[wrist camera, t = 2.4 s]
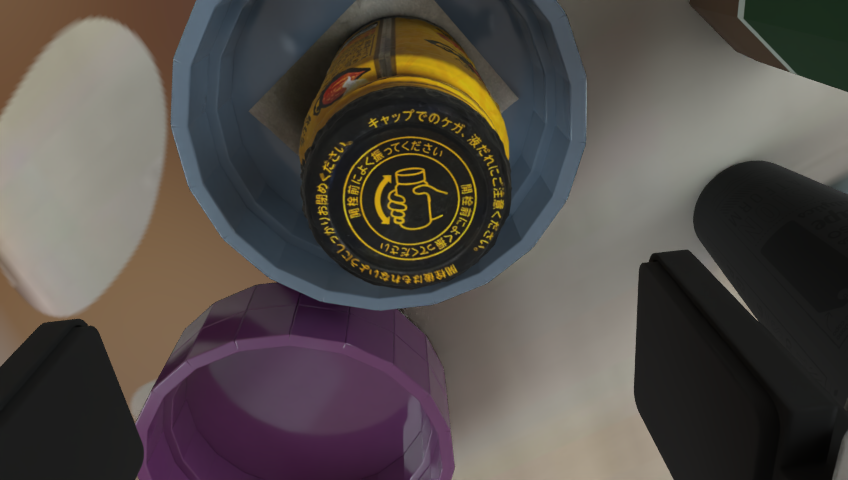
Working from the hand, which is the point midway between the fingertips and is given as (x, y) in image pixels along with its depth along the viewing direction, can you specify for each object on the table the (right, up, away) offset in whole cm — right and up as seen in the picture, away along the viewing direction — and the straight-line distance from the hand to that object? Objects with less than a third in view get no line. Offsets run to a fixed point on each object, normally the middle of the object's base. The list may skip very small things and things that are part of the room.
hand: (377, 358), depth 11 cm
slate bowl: (-1, +8, +16) cm, 18 cm away
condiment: (-1, +8, +15) cm, 17 cm away
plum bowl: (-5, -6, +22) cm, 24 cm away
